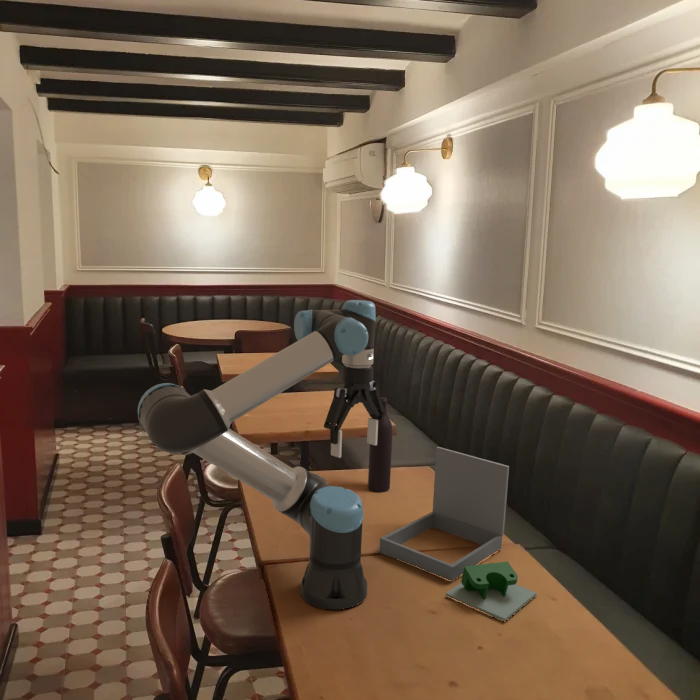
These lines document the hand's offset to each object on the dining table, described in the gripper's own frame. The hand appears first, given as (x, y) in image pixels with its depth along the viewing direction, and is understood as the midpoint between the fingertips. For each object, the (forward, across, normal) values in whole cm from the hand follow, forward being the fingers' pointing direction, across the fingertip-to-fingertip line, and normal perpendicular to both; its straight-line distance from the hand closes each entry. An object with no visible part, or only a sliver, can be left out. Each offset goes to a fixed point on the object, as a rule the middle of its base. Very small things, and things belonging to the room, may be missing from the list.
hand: (354, 450), depth 169 cm
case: (+29, +20, -14) cm, 38 cm away
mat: (+29, +9, -35) cm, 46 cm away
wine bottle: (+29, +43, +25) cm, 58 cm away
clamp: (+28, +9, -34) cm, 45 cm away
